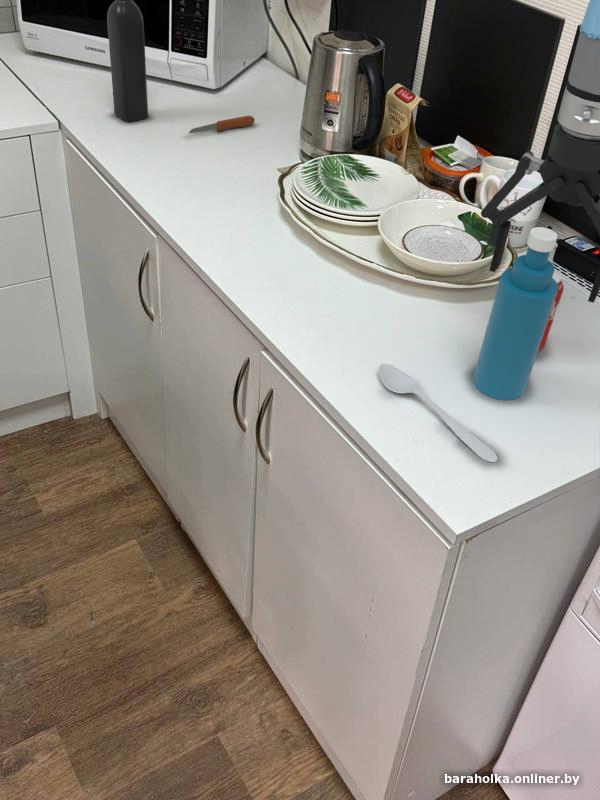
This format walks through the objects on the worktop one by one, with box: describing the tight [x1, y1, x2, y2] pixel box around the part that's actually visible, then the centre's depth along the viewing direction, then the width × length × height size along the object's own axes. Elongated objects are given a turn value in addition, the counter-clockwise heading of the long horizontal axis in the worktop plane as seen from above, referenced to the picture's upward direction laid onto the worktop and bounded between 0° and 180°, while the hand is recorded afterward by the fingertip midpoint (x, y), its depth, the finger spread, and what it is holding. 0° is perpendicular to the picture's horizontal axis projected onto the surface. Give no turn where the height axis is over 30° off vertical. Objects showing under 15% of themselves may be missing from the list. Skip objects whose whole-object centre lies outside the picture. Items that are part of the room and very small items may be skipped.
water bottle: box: [472, 226, 558, 401], centre depth 101 cm, size 7×7×23 cm
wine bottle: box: [106, 0, 149, 123], centre depth 160 cm, size 6×6×30 cm
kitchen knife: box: [188, 115, 256, 134], centre depth 167 cm, size 16×1×2 cm, turn 126°
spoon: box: [378, 363, 498, 463], centre depth 102 cm, size 4×21×2 cm, turn 38°
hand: (542, 282), depth 109 cm, fingers open, 13 cm apart
